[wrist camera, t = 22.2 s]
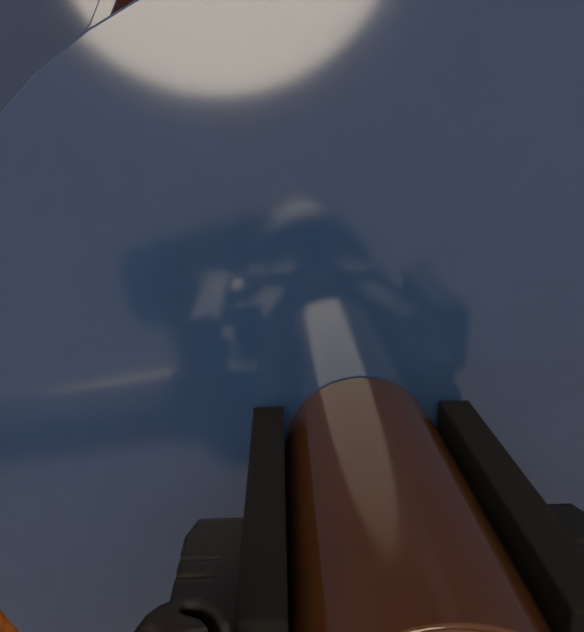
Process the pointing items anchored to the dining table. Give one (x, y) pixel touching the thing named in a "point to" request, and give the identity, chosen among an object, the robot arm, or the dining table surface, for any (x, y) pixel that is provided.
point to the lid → (290, 300)
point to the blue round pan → (42, 35)
